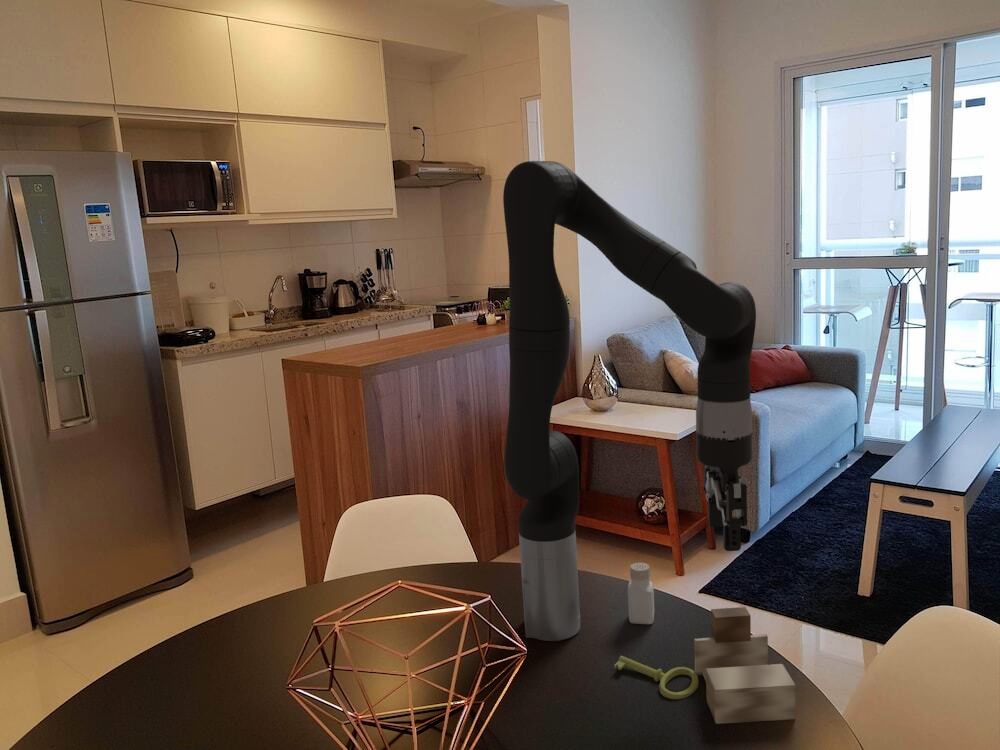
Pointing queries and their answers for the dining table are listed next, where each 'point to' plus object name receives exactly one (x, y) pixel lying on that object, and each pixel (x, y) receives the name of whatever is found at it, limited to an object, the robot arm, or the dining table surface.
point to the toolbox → (750, 693)
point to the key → (662, 676)
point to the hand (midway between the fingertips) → (723, 537)
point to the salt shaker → (640, 595)
